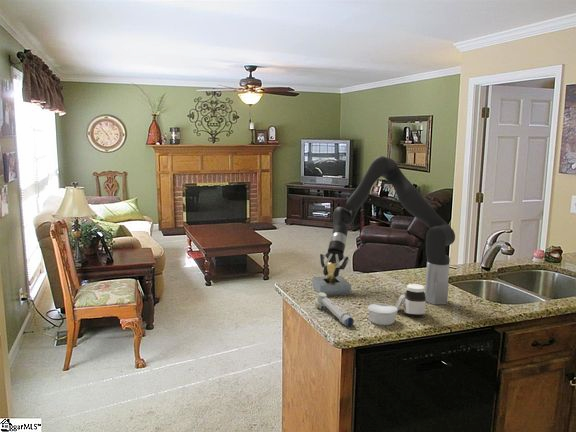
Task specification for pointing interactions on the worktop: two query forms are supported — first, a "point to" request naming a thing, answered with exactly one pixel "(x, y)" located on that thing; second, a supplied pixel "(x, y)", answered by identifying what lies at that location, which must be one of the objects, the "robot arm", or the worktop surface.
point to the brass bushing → (331, 272)
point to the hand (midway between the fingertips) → (330, 275)
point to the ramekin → (382, 313)
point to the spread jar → (413, 300)
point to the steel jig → (332, 286)
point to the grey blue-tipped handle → (333, 309)
